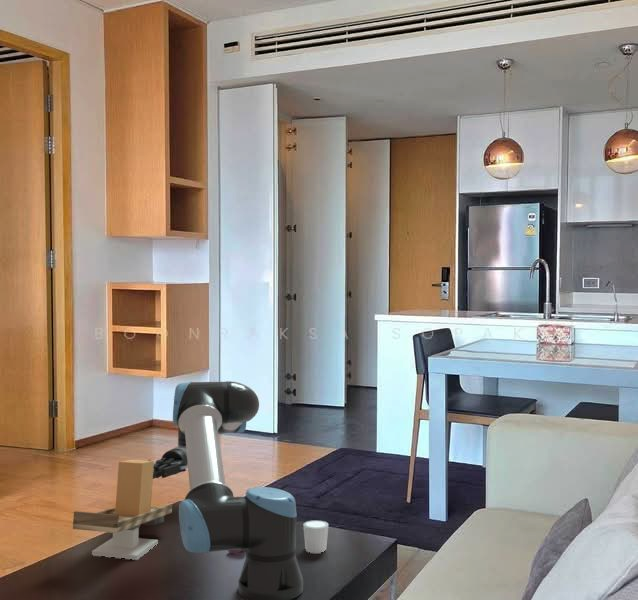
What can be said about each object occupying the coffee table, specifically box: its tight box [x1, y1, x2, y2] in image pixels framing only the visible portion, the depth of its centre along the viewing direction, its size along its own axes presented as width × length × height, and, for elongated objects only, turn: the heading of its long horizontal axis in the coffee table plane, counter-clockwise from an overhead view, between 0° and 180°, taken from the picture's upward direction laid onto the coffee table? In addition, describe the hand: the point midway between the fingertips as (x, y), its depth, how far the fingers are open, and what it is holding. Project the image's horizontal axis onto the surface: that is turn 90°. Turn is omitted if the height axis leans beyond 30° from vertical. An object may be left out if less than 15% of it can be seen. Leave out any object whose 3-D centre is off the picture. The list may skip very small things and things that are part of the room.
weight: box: [114, 459, 155, 516], centre depth 199 cm, size 7×7×14 cm
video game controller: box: [227, 549, 246, 555], centre depth 196 cm, size 10×5×7 cm, turn 169°
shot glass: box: [302, 520, 329, 554], centre depth 196 cm, size 7×7×7 cm
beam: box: [72, 504, 173, 534], centre depth 195 cm, size 32×12×7 cm, turn 167°
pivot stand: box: [91, 527, 159, 561], centre depth 195 cm, size 12×13×6 cm
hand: (141, 479), depth 205 cm, fingers closed
